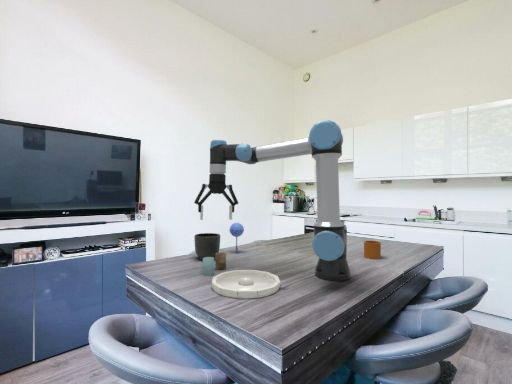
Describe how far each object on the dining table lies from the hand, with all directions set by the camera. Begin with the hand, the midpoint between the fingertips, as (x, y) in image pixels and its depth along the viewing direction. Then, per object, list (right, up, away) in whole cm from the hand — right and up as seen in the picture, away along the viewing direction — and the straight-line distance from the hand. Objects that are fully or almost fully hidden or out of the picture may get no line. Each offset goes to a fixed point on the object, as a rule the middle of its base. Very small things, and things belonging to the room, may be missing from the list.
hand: (216, 219), depth 128 cm
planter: (-8, -24, +23) cm, 34 cm away
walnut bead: (+2, -24, +3) cm, 24 cm away
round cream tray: (+15, -24, -20) cm, 35 cm away
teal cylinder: (-3, -24, -6) cm, 24 cm away
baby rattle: (+7, -24, +38) cm, 45 cm away
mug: (+86, -25, +30) cm, 94 cm away
